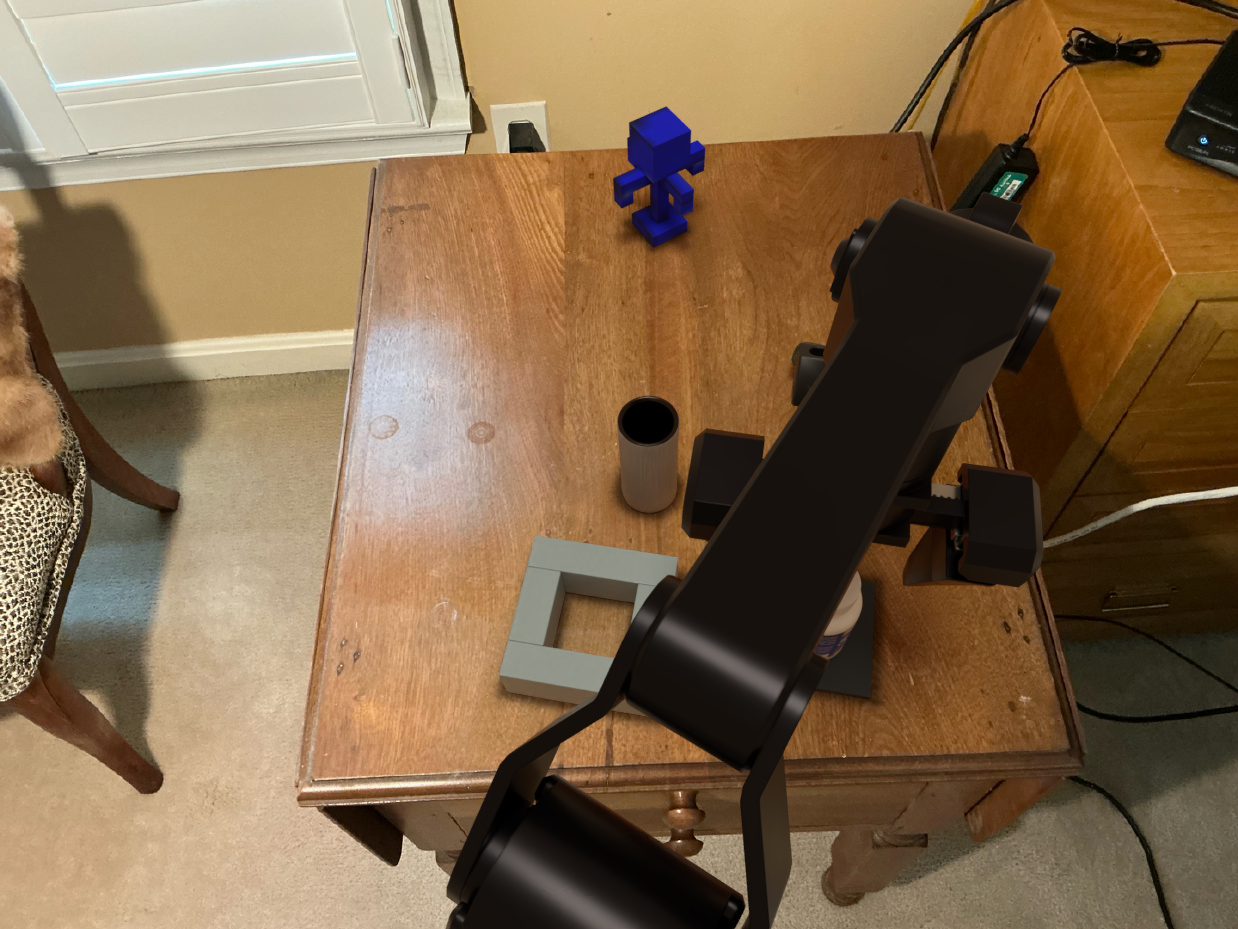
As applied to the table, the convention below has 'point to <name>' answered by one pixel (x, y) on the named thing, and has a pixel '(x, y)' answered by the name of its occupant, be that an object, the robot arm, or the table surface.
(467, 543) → the table surface
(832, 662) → the mat
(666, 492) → the grey cylindrical tube
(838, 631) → the pill bottle
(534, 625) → the stand
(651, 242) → the figurine
